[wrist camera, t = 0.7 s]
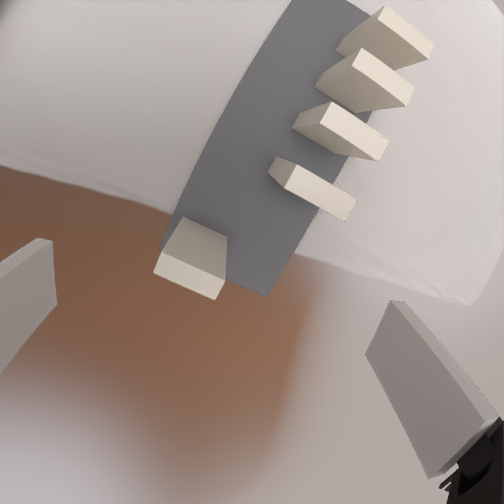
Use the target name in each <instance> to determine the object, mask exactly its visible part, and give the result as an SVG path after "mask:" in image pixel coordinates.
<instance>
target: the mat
mask: <svg viewBox="0 0 504 504" xmlns="http://www.w3.org/2000/svg"><path fill="white" fill-rule="evenodd" d="M369 17H370V15H368V14H367V13H365V12H364V11H362V10H361V9H359V8H358V7H356V6H354V5H353V4H351V3H350V2H348V1H346V0H292V1H291V3H290V4H289V6H288V7H287V9H286V10H285V12H284V13H283V14H282V16H281V17H280V19H279V20H278V22H277V23H276V25H275V26H274V28H273V30H272V31H271V33H270V34H269V36H268V37H267V39H266V40H265V42H264V44H263V45H262V47H261V48H260V50H259V52H258V53H257V55H256V56H255V58H254V60H253V61H252V63H251V65H250V66H249V68H248V70H247V71H246V73H245V75H244V77H243V78H242V80H241V82H240V83H239V85H238V87H237V89H236V90H235V92H234V94H233V96H232V98H231V99H230V101H229V103H228V105H227V107H226V108H225V110H224V112H223V114H222V116H221V118H220V119H219V121H218V123H217V125H216V127H215V129H214V131H213V133H212V135H211V137H210V139H209V140H208V142H207V144H206V146H205V148H204V150H203V152H202V154H201V156H200V158H199V160H198V162H197V164H196V167H195V169H194V171H193V173H192V175H191V177H190V179H189V181H188V183H187V185H186V188H185V190H184V192H183V194H182V196H181V198H180V201H179V203H178V205H177V207H176V210H175V212H174V214H173V216H172V219H171V221H170V223H169V226H168V228H167V230H166V233H165V235H164V237H163V240H162V242H161V245H160V247H159V249H160V250H163V249H164V247H165V245H166V244H167V242H168V240H169V239H170V237H171V235H172V234H173V232H174V230H175V229H176V227H177V225H178V224H179V222H180V221H181V219H182V217H186V218H188V219H190V220H192V221H194V222H196V223H198V224H201V225H203V226H205V227H207V228H209V229H211V230H213V231H216V232H218V233H220V234H222V235H224V236H226V237H227V256H226V280H228V281H231V282H233V283H235V284H238V285H240V286H242V287H245V288H247V289H249V290H252V291H254V292H256V293H259V294H261V295H263V296H266V297H267V295H268V294H269V292H270V291H271V289H272V287H273V285H274V284H275V282H276V281H277V279H278V278H279V276H280V274H281V273H282V271H283V269H284V267H285V266H286V264H287V263H288V261H289V259H290V257H291V256H292V254H293V252H294V251H295V249H296V247H297V246H298V244H299V242H300V241H301V239H302V237H303V235H304V234H305V232H306V230H307V229H308V227H309V225H310V223H311V222H312V220H313V218H314V216H315V215H316V213H317V211H318V209H319V208H320V207H318V206H316V205H314V204H312V203H311V202H309V201H307V200H305V199H303V198H302V197H300V196H298V195H296V194H294V193H292V192H290V191H289V190H287V189H285V188H283V187H282V186H281V185H280V184H279V183H278V182H277V181H276V180H275V179H274V178H273V177H272V176H271V175H270V174H269V173H268V170H269V168H270V166H271V164H272V162H273V161H274V159H275V157H276V156H277V157H279V158H282V159H285V160H287V161H290V162H292V163H295V164H297V165H299V166H301V167H303V168H304V169H306V170H308V171H310V172H311V173H313V174H315V175H317V176H318V177H320V178H322V179H323V180H325V181H327V182H329V183H330V184H332V185H333V183H334V181H335V179H336V178H337V176H338V174H339V172H340V170H341V169H342V167H343V165H344V163H345V161H346V159H347V158H348V156H346V155H341V154H335V153H332V152H331V151H329V150H328V149H326V148H324V147H323V146H321V145H319V144H318V143H316V142H314V141H313V140H311V139H309V138H307V137H306V136H304V135H302V134H300V133H299V132H297V131H295V130H293V129H292V126H293V124H294V122H295V121H296V119H297V117H298V115H299V113H301V112H304V111H306V110H309V109H312V108H315V107H317V106H320V105H323V104H326V103H328V102H331V101H332V102H334V103H335V104H337V105H338V106H340V107H342V108H343V109H345V110H346V111H348V112H349V113H351V114H352V115H354V116H355V117H357V118H358V119H360V120H361V121H363V122H364V123H365V124H366V122H367V120H368V119H369V117H370V115H371V113H372V111H367V112H360V113H355V112H353V111H352V110H350V109H349V108H347V107H345V106H344V105H342V104H341V103H339V102H338V101H336V100H335V99H333V98H331V97H330V96H328V95H327V94H325V93H323V92H322V91H320V90H318V89H317V88H315V85H316V83H317V81H318V80H319V78H320V76H321V74H322V73H323V72H325V71H326V70H328V69H329V68H331V67H332V66H334V65H335V64H337V63H338V62H340V61H341V60H343V59H344V58H346V57H345V56H343V55H342V54H340V53H338V52H337V51H335V50H336V49H337V47H338V45H339V43H340V42H341V40H342V39H343V38H344V37H345V36H346V35H347V34H349V33H350V32H351V31H352V30H354V29H355V28H356V27H357V26H359V25H360V24H361V23H362V22H364V21H365V20H366V19H368V18H369Z"/></svg>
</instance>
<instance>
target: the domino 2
mask: <svg viewBox="0 0 504 504" xmlns="http://www.w3.org/2000/svg"><path fill="white" fill-rule="evenodd" d="M433 47H434V44H433V43H432V42H431V41H430V40H429V39H427V38H426V37H425V36H424V35H423V34H422V33H420V32H419V31H418V30H417V29H416V28H414V27H413V26H412V25H411V24H409V23H408V22H407V21H406V20H404V19H403V18H402V17H400V16H399V15H398V14H396V13H395V12H394V11H392V10H391V9H389V8H388V7H387V6H384V7H382V8H381V9H380V10H378V11H377V12H376V13H374V14H373V15H372V16H370V17H369V18H368V19H366V20H365V21H364V22H362V23H361V24H360V25H359V26H357V27H356V28H355V29H354V30H352V31H351V32H350V33H349V34H347V35H346V36H345V37H344V38H343V39H342V40H341V42H340V43H339V45H338V47H337V49H336V50H335V51H337V52H338V53H340V54H342V55H343V56H345V57H348V56H349V55H351V54H352V53H354V52H355V51H357V50H359V49H360V48H363V49H364V50H366V51H367V52H369V53H370V54H372V55H373V56H375V57H376V58H377V59H379V60H380V61H381V62H383V63H384V64H385V65H387V66H388V67H389V68H391V69H392V70H396V69H399V68H402V67H405V66H408V65H412V64H415V63H418V62H421V61H425V60H428V59H429V57H430V54H431V52H432V50H433Z"/></svg>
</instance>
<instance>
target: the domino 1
mask: <svg viewBox="0 0 504 504" xmlns="http://www.w3.org/2000/svg"><path fill="white" fill-rule="evenodd" d="M226 256H227V237H226V236H224V235H222V234H220V233H218V232H216V231H213V230H211V229H209V228H207V227H205V226H203V225H201V224H198V223H196V222H194V221H192V220H190V219H188V218H186V217H182V219H181V221H180V222H179V224H178V225H177V227H176V229H175V230H174V232H173V234H172V235H171V237H170V239H169V240H168V242H167V244H166V245H165V247H164V249H163V250H162V252H161V254H160V257H159V259H158V262H157V264H156V267H155V269H154V272H153V273H155V274H157V275H159V276H161V277H164V278H166V279H168V280H170V281H172V282H174V283H177V284H179V285H181V286H183V287H186V288H188V289H190V290H193V291H195V292H197V293H199V294H202V295H204V296H206V297H209V298H211V299H214V300H215V299H216V297H217V295H218V294H219V292H220V290H221V288H222V286H223V284H224V282H225V279H226Z"/></svg>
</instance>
